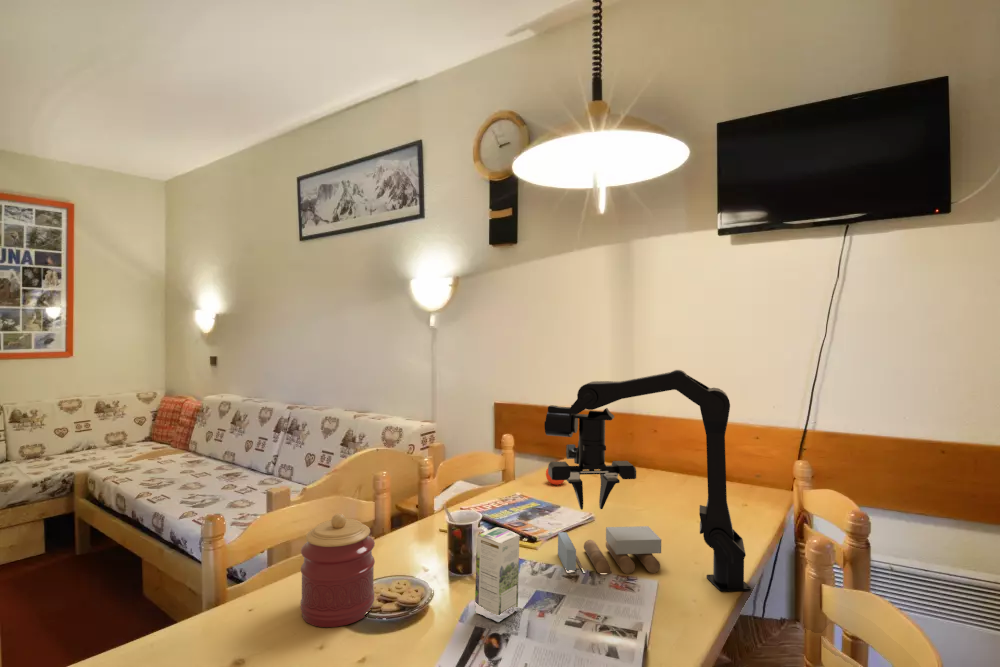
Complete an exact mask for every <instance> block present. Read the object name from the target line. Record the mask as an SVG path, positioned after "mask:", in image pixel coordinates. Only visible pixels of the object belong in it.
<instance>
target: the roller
mask: <svg viewBox="0 0 1000 667" xmlns="http://www.w3.org/2000/svg"><path fill="white" fill-rule="evenodd" d="M583 549H584V551H585V553H586V555H587V557H588V558H589V560H590V562H591V564H592V566H593V567H594V568H595V569H594V570H596V572H597V574H598V573H609V574H611V573H610V570H611V571H612V568H611V564H610V563H609V562H608V560H607V558H606V556H605V555H604V554H603V552H602V550H601V549H600V547H599V546H598V544H597V542H595V541H594V540H592V539H587V540H586V541H585V542H584V544H583Z"/></svg>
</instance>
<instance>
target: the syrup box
mask: <svg viewBox="0 0 1000 667" xmlns="http://www.w3.org/2000/svg"><path fill="white" fill-rule="evenodd" d="M475 543H476V544H475V545H476V546H475V547H476V548H475V586H474V587H475V590H474V591H475V592H474V595H475V597H474V603H475V602H476V603H477V604H478V605H479V606H481V607H483V608H484V609H486V610H487V611H489V612H491V613H493V614H496V615H500V614H501V613H503V612H504V611H506V610H507V609H509V608H511V607H518V608H519V576H520V575H519V574H520V573H519V570H520V569H519V568H520V535H519V534H518V533H515V532H514V531H512V530H509V529H507V528H502V527H498V526H497V527H494V528H492V529H489V530H487V531H484V532H482V533H480V534H478V535H476V542H475Z"/></svg>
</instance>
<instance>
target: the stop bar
mask: <svg viewBox="0 0 1000 667" xmlns="http://www.w3.org/2000/svg"><path fill="white" fill-rule="evenodd" d="M572 541H573V540H572V539H571V538H570V536H569V534H568V532H567V531H565V532H562V531H561V532H559V531H558V533H557V555H558V558H559V560H560V562H561V564H562V567H563V568H564V567H565V568H566V570H567V571H569V570H576V571H577V562H576V555H577V548H576V547H575V545H574V543H573V542H572Z"/></svg>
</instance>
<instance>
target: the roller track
mask: <svg viewBox="0 0 1000 667" xmlns="http://www.w3.org/2000/svg"><path fill="white" fill-rule="evenodd" d="M605 549H607V551H608V553H609V554H610V555H611V557H612V558H613V560H614V561H615V563H616V564H617V565H618V567H619V568H620V570H621V571H622V572H623V574H627V575H629V574H632V573H633V572H634V571H635V568H636V564H635V562H634V561H633V559H631V557H630V556H629V554H616V553H615V552H614V551H613V549H612V548H611V546H610V545H609V544H608V542H607V541H606V540H605ZM634 555H635V557H636V558H637V559H638V560H639V561H640V562H641V564H642V565H643V567H644V569H646V570H647V571H648V573H650V574H655V573H658V571H660V569H661V568H660V567H661V563H660V561H659V560H658V559H657V558H656V557H655V555H654V554H634ZM577 563H578V564H577ZM576 564H577V565H578V567H579V569H580V568H583V569H584V567H583V564H582V563H581V561H580V560H579V558H578V556H577V554H576ZM609 574H612V569H611V570H610V573H609Z"/></svg>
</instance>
